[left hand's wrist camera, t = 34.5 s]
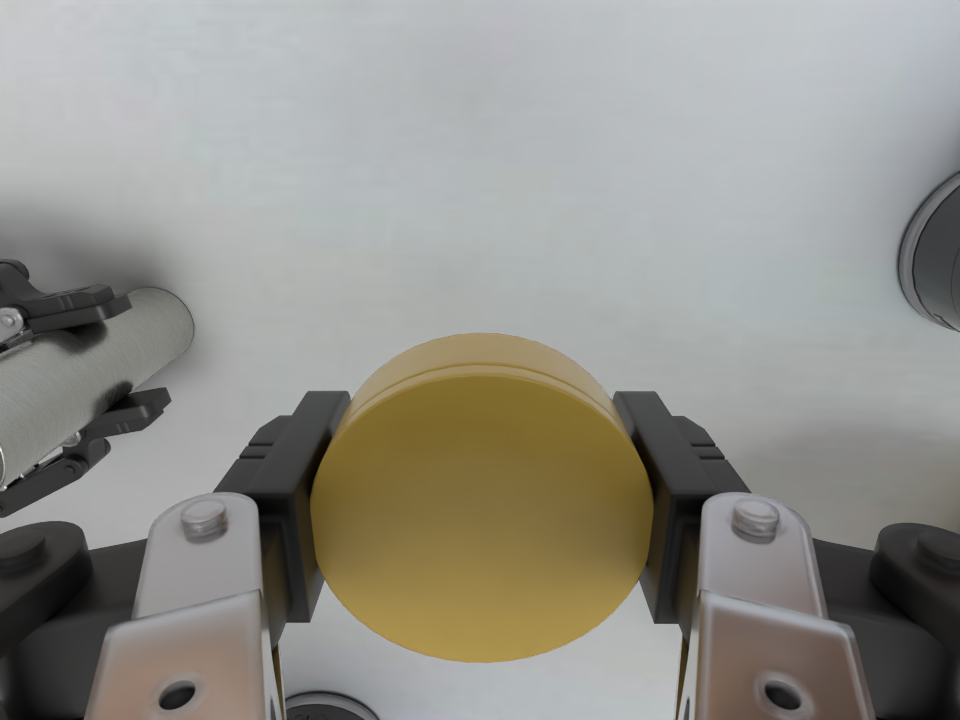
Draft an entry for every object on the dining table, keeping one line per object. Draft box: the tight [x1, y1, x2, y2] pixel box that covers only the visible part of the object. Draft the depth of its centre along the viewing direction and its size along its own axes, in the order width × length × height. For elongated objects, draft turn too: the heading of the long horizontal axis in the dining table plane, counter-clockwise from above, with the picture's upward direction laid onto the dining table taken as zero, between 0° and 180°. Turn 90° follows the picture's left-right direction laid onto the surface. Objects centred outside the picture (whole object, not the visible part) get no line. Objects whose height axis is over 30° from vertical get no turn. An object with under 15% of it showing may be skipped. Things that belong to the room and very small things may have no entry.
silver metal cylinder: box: [0, 287, 194, 490], centre depth 27 cm, size 4×4×16 cm
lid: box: [310, 333, 654, 663], centre depth 10 cm, size 5×5×2 cm
